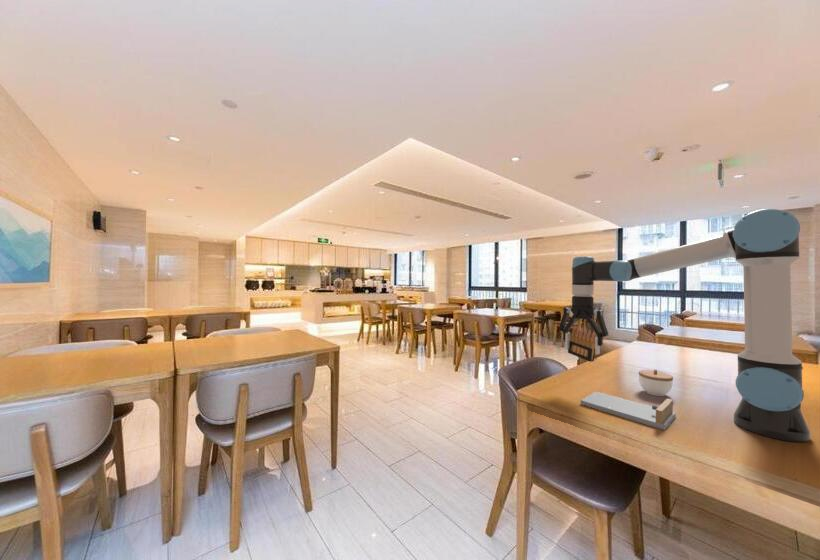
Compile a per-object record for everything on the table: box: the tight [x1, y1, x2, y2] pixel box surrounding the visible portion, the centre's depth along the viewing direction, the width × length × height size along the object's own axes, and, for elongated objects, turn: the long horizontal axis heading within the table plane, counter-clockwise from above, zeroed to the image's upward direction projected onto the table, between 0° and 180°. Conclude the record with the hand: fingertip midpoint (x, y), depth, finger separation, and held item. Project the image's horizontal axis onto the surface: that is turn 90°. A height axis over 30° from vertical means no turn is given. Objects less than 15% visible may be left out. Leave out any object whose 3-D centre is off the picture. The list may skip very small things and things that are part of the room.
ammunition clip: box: [567, 324, 596, 363], centre depth 124 cm, size 11×2×12 cm, turn 21°
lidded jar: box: [638, 369, 674, 397], centre depth 124 cm, size 11×11×9 cm
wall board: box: [580, 391, 676, 431], centre depth 107 cm, size 24×14×6 cm, turn 39°
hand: (582, 351), depth 124 cm, fingers closed on ammunition clip, 10 cm apart
